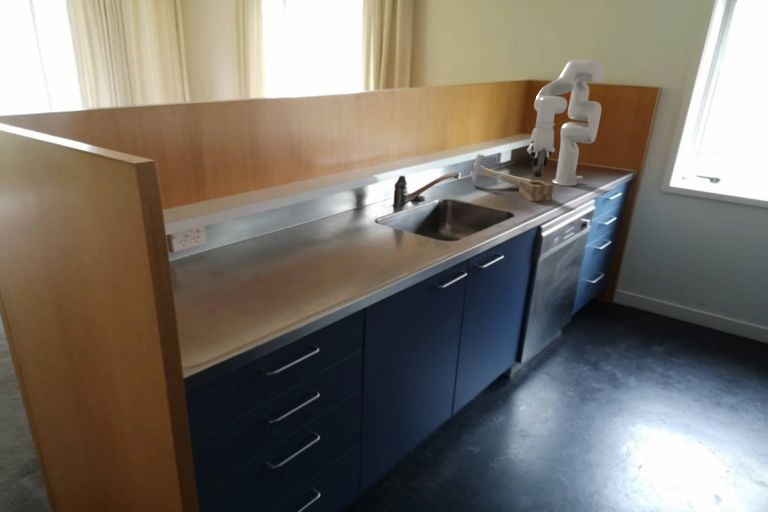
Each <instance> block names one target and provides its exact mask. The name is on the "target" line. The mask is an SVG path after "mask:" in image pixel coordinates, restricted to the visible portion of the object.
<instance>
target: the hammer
mask: <svg viewBox="0 0 768 512" xmlns="http://www.w3.org/2000/svg"><path fill="white" fill-rule="evenodd" d="M485 160H486V155H485V154H481V153H477V154H476V156H475V162H473V164H472V165H473V166H472V168H471V172H470V175H471V179H472V182H473V184H474V185H475V186H476V188H478V187H479V186H478V184H477V177H478V176H486V177H489V178H493V179H496V180H499V181H501V182H505V183H508V184H510V185H514V186H518V187H519V186H520V181H532V179H530V178H524V177H519V176H515V175H512V174H508V173H505V172H501V171H497V170H494V169H491V168H490V169H489V168H486V167H484V166H483V165H482V163H485Z"/></svg>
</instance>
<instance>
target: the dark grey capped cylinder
mask: <svg viewBox="0 0 768 512" xmlns="http://www.w3.org/2000/svg"><path fill="white" fill-rule="evenodd" d="M545 154H546V151H545V148H543V150H542V151H539V152H538V155H537V158H538V160H537V166H536V167H534V166H533V168H532V169H533V170H532V176H533V177H537V178H543V176H544V175H543V174H544V167H545V166H544V161H545Z"/></svg>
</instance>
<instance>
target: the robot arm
mask: <svg viewBox="0 0 768 512" xmlns="http://www.w3.org/2000/svg"><path fill="white" fill-rule="evenodd" d="M604 75H605V67H604V65H603V63H600V62H598V61H595V60H591V59H589V60H588V59H572V60H569V61H568V62H567V63H566V64H565V66H564V67H563V70H562V71H561V73H560V75H559V77H558V78H557V79H556V80H553V81H551V82H548V83H547V84H546V85H544V86H543V87H542V88H541V90H539V92H538V94H537V95H536V98H535V100H534V102H533V103H534V104H533V106H534V110H535V111H536V114H537V115H536V120H535V121H536V122H535V127H534V128H533V130H532V132H531V135H530V136H531V137H530V140H529V146H528V147H527V149H526V152H528V154H529V155H530V157H531V158H532V159H531V166H532V167H533V168H534V167H536V166H537V160H538V158H537V155H538V152H539V151H542V150H543V148H545V151H546V154H545V161H544V167H547V164H548V158H550V156H551V155H552V154H553V153H554V152H556V149H555V147H554V142H555V131H554V127H555V126H556V123H555V114H557V115H559V114H562V113H564V112H565V111H566V109H567V106H568V109H567V116H568V119H571V120H574V121H568V122H565V123H563V125H562V126H560V146H559V147H560V148H559V152H558V153H559V154H558V160H557V167H556V174H555V178H554V179H552V181H551V182H552V183H553V184H555V185H558V186H564V185H565V186H568V187H570V186H573V185H574V186H576V185H577V184H578V182H577V181H580V180H583V176H582V175H577V174H576V173H577V172H576V171H577V166H578V160H579V153H580V149H579V146H578V144H577V143H582V144H592V143H594V142H595V141H596V137H597V133H598V129H599V125H600V121H601V120H600V119H601V114H602V105H601V104H600V102H598V101H591V100H589V95H590V89H589V85H588V84H587V83H589V82H590V83H599V82H601V81H602V79H604ZM567 93H570V97H569V98H570V99H569V104H568V101H567V99H566V98H565V97H563V96H560V95H565V94H567ZM575 120H577V121H584V122H585V121H587V122H588V123H583V122H575Z"/></svg>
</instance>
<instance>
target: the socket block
mask: <svg viewBox="0 0 768 512" xmlns="http://www.w3.org/2000/svg"><path fill="white" fill-rule="evenodd" d="M518 187H519V188H518V196H519V197H520V198H523V199H525V200H528V201H530V202H543V201H545V202H546V201H552V200H553V199H552V198H553V193H554V185H553V184H550V183H549V182H546V181H544V180H540V179H539V180H538V179H537V180H531V181H520V186H518Z"/></svg>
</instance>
